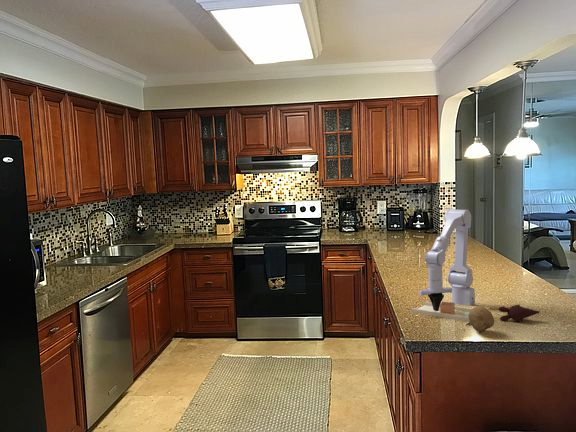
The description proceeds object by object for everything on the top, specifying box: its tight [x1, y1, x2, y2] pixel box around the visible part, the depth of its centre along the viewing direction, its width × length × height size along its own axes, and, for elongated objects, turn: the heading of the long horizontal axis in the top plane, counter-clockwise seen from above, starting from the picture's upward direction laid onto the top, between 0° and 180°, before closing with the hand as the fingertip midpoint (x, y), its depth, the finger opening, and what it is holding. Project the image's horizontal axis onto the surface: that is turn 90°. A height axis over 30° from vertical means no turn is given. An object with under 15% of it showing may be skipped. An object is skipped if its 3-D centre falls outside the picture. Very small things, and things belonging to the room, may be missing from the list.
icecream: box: [498, 303, 540, 322], centre depth 194 cm, size 7×7×15 cm
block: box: [439, 301, 456, 315], centre depth 202 cm, size 5×5×4 cm
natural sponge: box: [469, 305, 495, 333], centre depth 183 cm, size 9×9×10 cm
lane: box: [411, 301, 473, 327], centre depth 204 cm, size 26×13×4 cm, turn 49°
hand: (436, 310), depth 205 cm, fingers closed
